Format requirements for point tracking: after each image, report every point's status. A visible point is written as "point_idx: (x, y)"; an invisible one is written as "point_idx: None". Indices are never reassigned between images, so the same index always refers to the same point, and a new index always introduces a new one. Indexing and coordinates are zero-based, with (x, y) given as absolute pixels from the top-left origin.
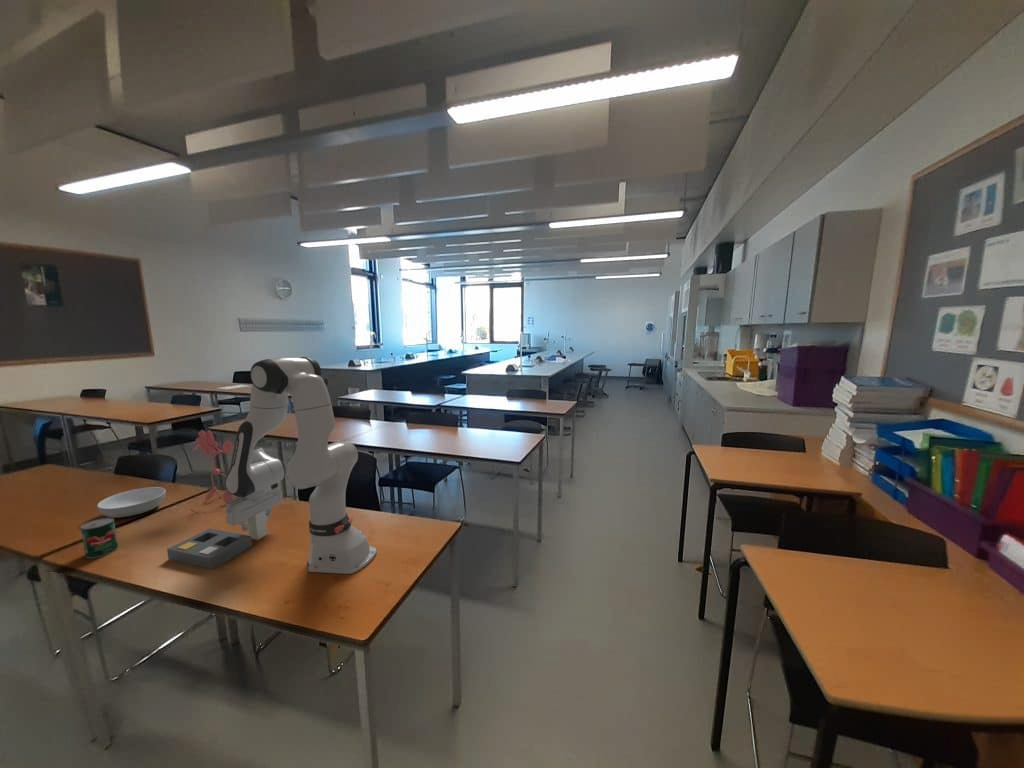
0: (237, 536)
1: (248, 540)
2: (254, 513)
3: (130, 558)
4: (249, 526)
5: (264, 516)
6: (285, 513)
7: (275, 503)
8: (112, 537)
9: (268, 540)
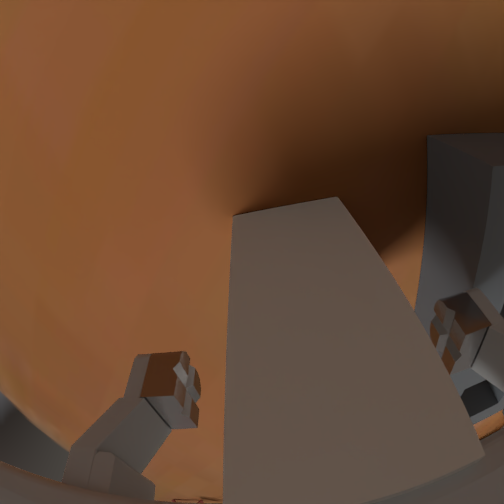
0: (501, 279)
1: (493, 153)
2: (488, 483)
3: (491, 415)
4: (455, 320)
5: (252, 390)
6: (43, 366)
7: (12, 491)
8: None
9: (301, 87)
